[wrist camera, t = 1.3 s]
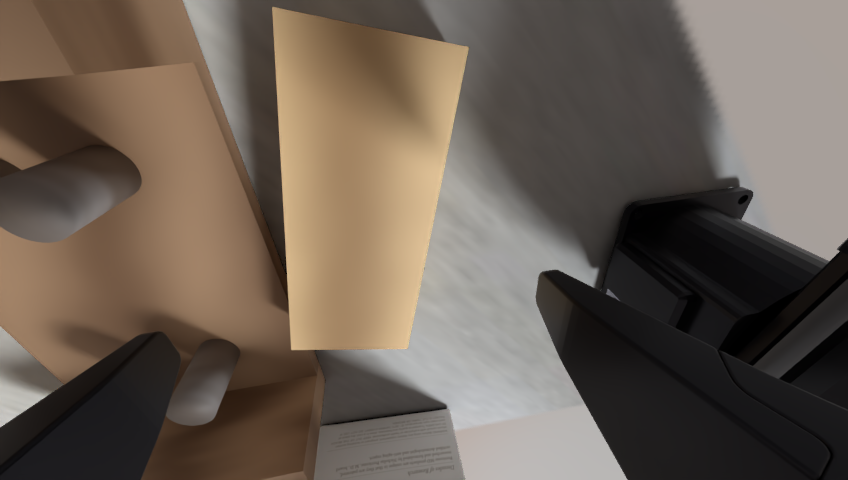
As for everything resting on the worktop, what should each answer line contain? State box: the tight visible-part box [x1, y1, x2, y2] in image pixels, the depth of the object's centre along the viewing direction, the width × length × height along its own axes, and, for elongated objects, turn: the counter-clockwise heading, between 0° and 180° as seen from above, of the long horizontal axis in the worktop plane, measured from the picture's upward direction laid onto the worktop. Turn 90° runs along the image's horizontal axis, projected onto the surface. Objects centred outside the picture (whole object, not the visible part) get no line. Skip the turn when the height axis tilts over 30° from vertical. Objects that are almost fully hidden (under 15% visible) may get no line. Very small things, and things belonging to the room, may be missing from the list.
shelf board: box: [272, 7, 469, 350], centre depth 12 cm, size 5×12×3 cm, turn 170°
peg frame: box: [0, 0, 326, 480], centre depth 11 cm, size 11×18×5 cm, turn 4°
